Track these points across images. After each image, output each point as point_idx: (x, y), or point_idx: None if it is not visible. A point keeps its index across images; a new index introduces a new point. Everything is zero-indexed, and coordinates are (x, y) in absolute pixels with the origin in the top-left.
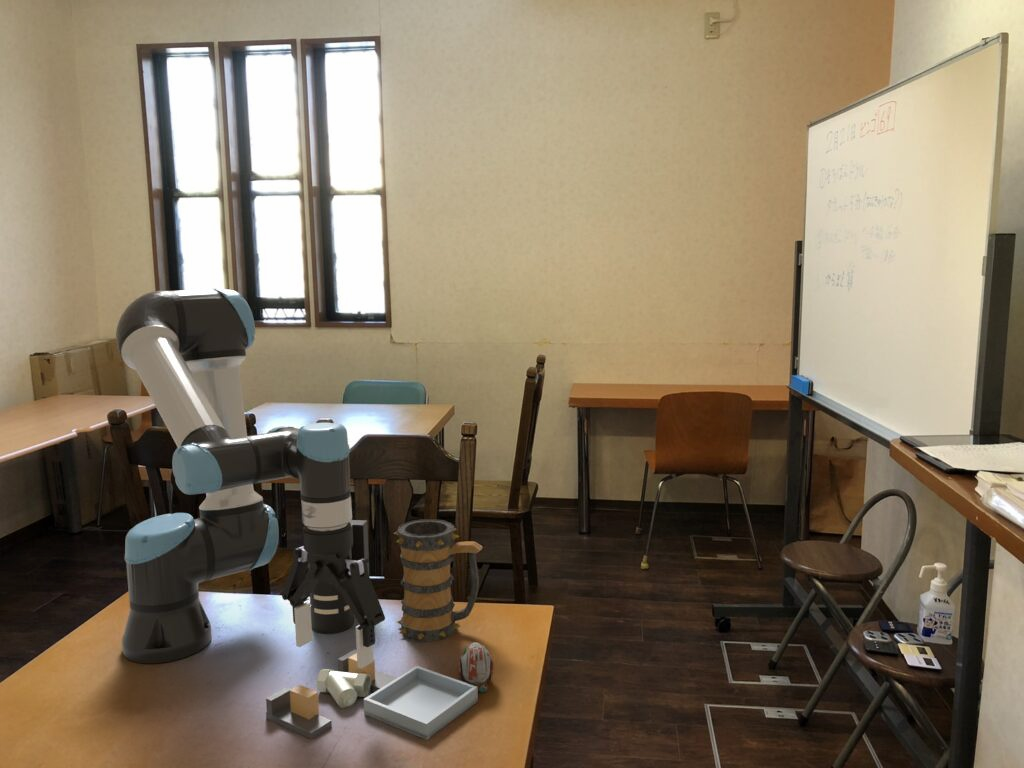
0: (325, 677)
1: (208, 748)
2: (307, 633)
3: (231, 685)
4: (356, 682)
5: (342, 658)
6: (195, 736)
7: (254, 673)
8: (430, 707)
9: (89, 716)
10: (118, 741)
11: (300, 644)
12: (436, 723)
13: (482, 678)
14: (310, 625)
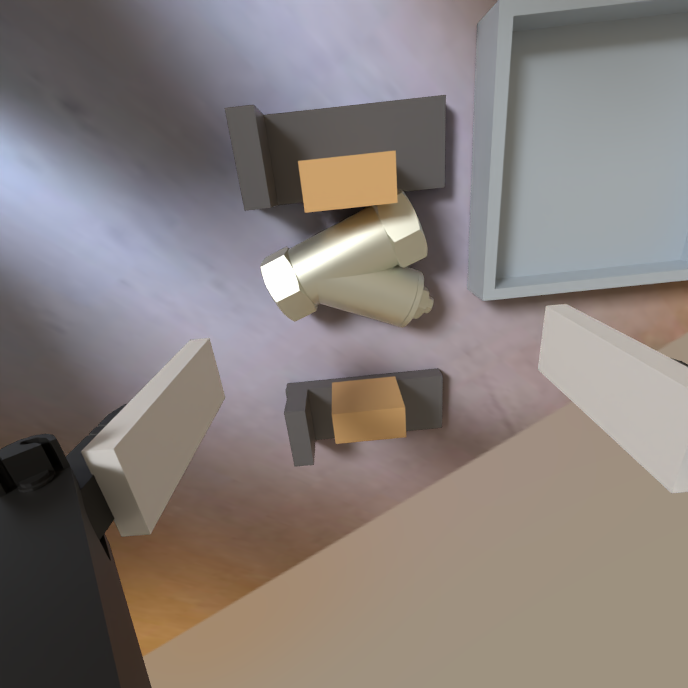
0: (308, 305)
1: (304, 531)
2: (200, 378)
3: (98, 408)
4: (406, 260)
5: (254, 196)
6: (251, 528)
7: (69, 344)
8: (633, 156)
9: None
10: (173, 593)
11: (220, 397)
12: None
13: None
14: (183, 376)
